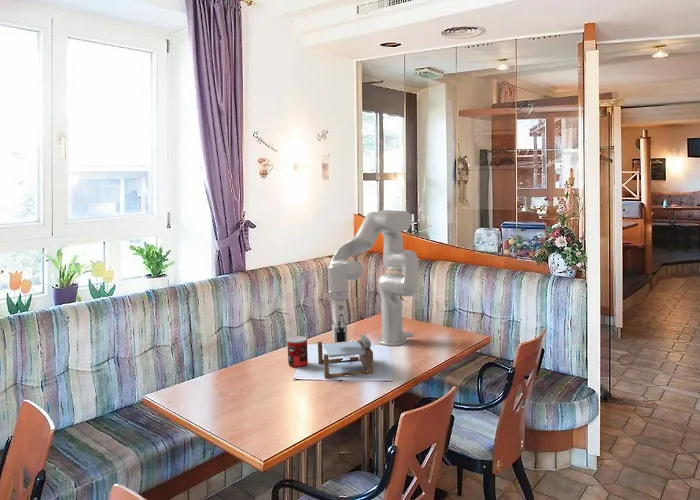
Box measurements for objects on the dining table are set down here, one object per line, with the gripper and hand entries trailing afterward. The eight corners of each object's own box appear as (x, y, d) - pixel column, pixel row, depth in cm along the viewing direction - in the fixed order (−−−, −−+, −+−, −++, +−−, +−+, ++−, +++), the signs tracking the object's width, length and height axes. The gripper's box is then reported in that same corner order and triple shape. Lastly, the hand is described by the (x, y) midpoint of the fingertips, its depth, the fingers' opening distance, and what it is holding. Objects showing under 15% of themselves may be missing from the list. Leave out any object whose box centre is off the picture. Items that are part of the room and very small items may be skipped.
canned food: (288, 362, 241) (287, 336, 239) (307, 361, 242) (306, 335, 240) (288, 368, 233) (286, 342, 232) (308, 367, 234) (307, 341, 232)
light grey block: (344, 338, 233) (344, 323, 232) (347, 341, 228) (346, 326, 227) (332, 339, 232) (332, 324, 231) (334, 342, 227) (334, 327, 226)
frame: (363, 358, 243) (363, 337, 241) (373, 373, 225) (373, 351, 224) (318, 362, 239) (317, 341, 238) (325, 378, 221) (324, 355, 220)
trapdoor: (364, 342, 239) (364, 333, 239) (372, 353, 226) (371, 343, 225) (324, 346, 236) (323, 337, 236) (329, 357, 223) (329, 347, 222)
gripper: (351, 299, 220) (353, 345, 222) (343, 289, 236) (345, 332, 239) (332, 300, 218) (334, 347, 221) (325, 291, 235) (327, 334, 238)
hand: (339, 339), depth 230 cm, fingers closed on light grey block, 5 cm apart
